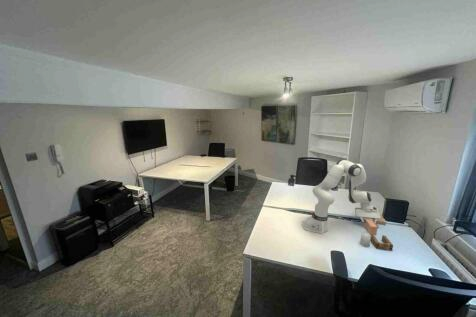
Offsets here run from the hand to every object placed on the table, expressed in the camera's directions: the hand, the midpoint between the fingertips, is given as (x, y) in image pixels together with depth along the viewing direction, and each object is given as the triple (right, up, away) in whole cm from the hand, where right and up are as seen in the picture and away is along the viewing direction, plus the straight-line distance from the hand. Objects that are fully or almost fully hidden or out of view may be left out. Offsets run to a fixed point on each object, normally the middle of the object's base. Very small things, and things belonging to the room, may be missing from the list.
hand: (369, 223), depth 172 cm
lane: (-5, -11, -21) cm, 24 cm away
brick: (+19, -3, +14) cm, 24 cm away
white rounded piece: (-18, -11, -20) cm, 28 cm away
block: (-1, -6, -2) cm, 7 cm away
